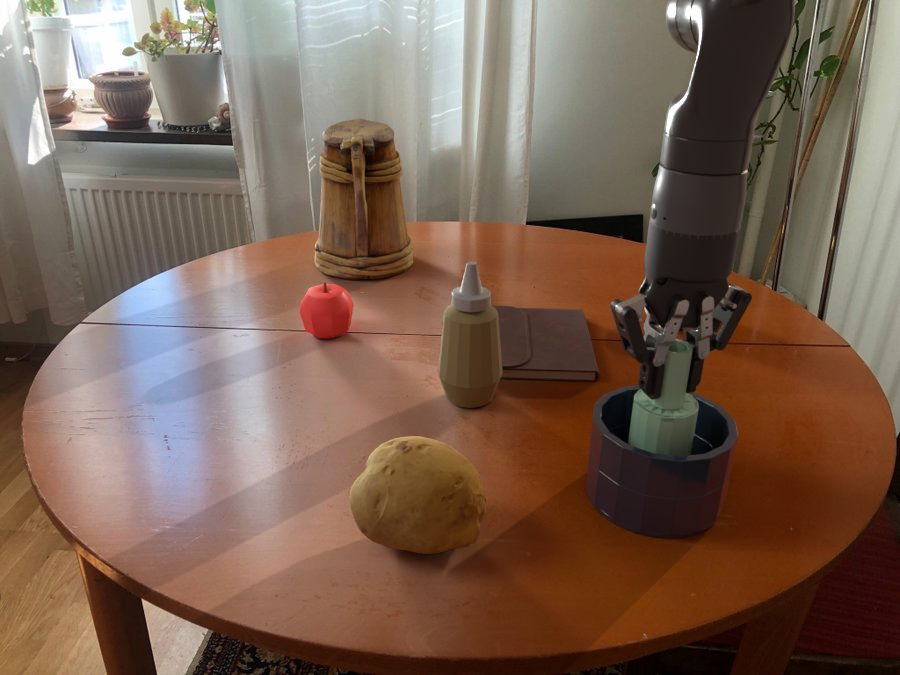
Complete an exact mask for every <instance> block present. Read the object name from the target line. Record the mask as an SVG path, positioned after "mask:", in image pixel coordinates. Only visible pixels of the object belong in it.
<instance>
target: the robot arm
mask: <svg viewBox="0 0 900 675" xmlns="http://www.w3.org/2000/svg"><path fill="white" fill-rule="evenodd" d="M795 13H796V0H667V3H666V8H665V23H666V28H667V30H668V33H669V35H670V37H671V38H672V40H673V41H674V42H675V43H676V45H678V46H679V47H681V49H684V50H685V51H687V52H690V53H693V54H696V57H695V61H694V65H693V69H692V71H691V72H692V73H691V76H690V79H689V84H688V87H687V89H686V90H683V91H681V92H679V93H677V94H676V95H675V96H674V97H673V98H672V99H671V101H670V103H669V104H668V108H667V112H666V116H665V120H664V128H663V133H662V142H661V150H660V157H659V165H658V170H657V174H656V177H655V182H654V185H653V189H652V190H653V191H652V198H651V206H650V212H649V221H648V229H647V235H646V245H645V252H644V259H643V260H644V268H645V276H644V279H643V281H642V283H641V285H640V286H639V289H638V294H635V295H634V296H632V297H630V298H628V299H626V300H622V299H620V298H615V299H614V300H612V301H611V303H610V310H611V313H612V316H613V319H614V322H615V323H614V324H615V326H616V329H617V332H618V335H619V339H620V342H621V346H622V349H623V350H624V351H625V352H626V353H627V354H628V355H629V356H630V357H631V358H633V359H634V360H635V361H636V362H637V363H639V364H640V367H639V376H638V383H637V385H639V388H640V389H642V391H643V392H644V393H645V394H646V395H647V396H648V397H649V398H650V399H652V400H653V399H659V398H660V396H661V390H662V383H663V376H664V370H665V365H663V363H664V362H665V359H666V356H667V353H668V350H669V347H670V345H671V344H674V343H675V341H676V339H678V338H677V337H678V334H679V332H680V330H682V339H683V340H682V341H686V342H688V343H689V344H690V345H692V349H693V351H692V357H691V363H690V369H689V375H688V381H687V387H686V393H695V392H696V391H697V387H698V386H699V385H700V383H701V381H702V376H703V375H702V374H703V368H704V364H705V359H706V358H707V359H708V357H709V355H710V353H711V352H713V351H715V350H717V351H723V350H725V348H726V347H727V346H728V344H729V342H730V340H731V338H732V336H733V334H734V333H735V331H736V329H737V328H738V326H739V323H740V322H741V320H742V318H743V316H744V314H745V312H746V311H747V309H748V307H749V305H750V303H751V301H752V299H753V295H752V294H751V293H750V292H748V291H746V290H745V289H744V288H742V287H741V286H738V285H736V284H734V283H730V282H729V280H728V278H729V277H730V276H731V274H732V273H733V271H734V266H735V261H736V254H737V249H738V244H739V239H740V233H741V227H742V221H743V216H744V212H745V211H744V210H745V206H746V199H747V189H748V188H747V185H748V184H747V182H748V172H749V171H748V170H749V165H750V160H751V154H752V150H753V142H754V136H755V130H756V122H757V119H758V116H759V113H760V112H761V109H762V108H763V107H762V106H764V102H765V101H766V99H767V96H768V95H769V92H770V91H771V87H772V85H773V83H774V80H775V79H776V75H777V73H778V70H779V68H780V66H781V64H782V61H783V59H784V56H785V53H786V51H787V48H788V45H789V43H790V40H791V36H792V33H793V32H792V31H793V27H794V24H795V23H794V22H795ZM644 308H646V309H647V311H648V314H646V317H645V320H644V318H643V311H644V310H645V309H644ZM643 321H644V323H643V329H642V326H641V323H642V322H643ZM721 324H722V325H721ZM720 326H721V327H720ZM719 328H720V329H719ZM642 330H643V331H642ZM718 330H719V331H718ZM717 331H718V332H717ZM643 332H644V334H643Z"/></svg>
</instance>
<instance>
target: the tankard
mask: <svg viewBox="0 0 900 675" xmlns="http://www.w3.org/2000/svg"><path fill="white" fill-rule="evenodd" d="M321 138H322V141H323V150H322V152H321V154H320V156H319V174H320V175H321V187H320V208H319V209H320V210H319V228H318V239H317V241H316V242H315V244H314V258H313V259H314V265H315V267H316V269H317V270H318V271H320V272H322V273H323V274H325V275H328V276H331V277H335V278H339V279H344V280H345V279H346V280H355V281H357V280H379V279H383V278H389V277H393V276H395V275H396V276H397V275H398V274H401V273H404V272H405V271H407V270H408V269H409V268H410V267H411V266H412V265H413V264H414V254H415V252H414V251H415V250H414V248H413V246H414V245H413V240H412V238H411V237H410V236H409V233H408V226H407V225H408V224H407V219H406V213H405V206H404V200H403V194H402V193H403V192H402V185H401V177H402V176H403V167H402V160H401V155H400V153H399V151H397V150H396V144H395V131H394V130H393V129H392V127H391V126H390V125H388V124H386V123H383V122H379V121H374V120H369V119H364V118H361V117H359V118H354V119H348V120H343V121H339V122H336V123H334V124H332V125H330V126H328V127H327V128H326V129H325V130H324V131H323V132H322V134H321Z"/></svg>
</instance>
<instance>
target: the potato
mask: <svg viewBox="0 0 900 675" xmlns="http://www.w3.org/2000/svg"><path fill="white" fill-rule="evenodd" d="M348 495H349V506H350V510H351V515H352V516H353V519H354V522H355V524H356V526H357V528H358V530H359V531H360V532H361V534H362V535H363V536H365V537H366V538H367V539H368V540H370V541H371V542H372V543H373V542H374V543H375V544H377V545H381V546H384V547H387V548H391V549H395V550H399V551H400V550H401V551H407V552H413V553H417V554H425V555H433V554H439V553H444V552H449V551H453V550H455V549H459V548H468V547H469V546H470V545H472V544H476V542H477V541H478V538H479V535H480V531H481V530H480V529H481V523H482V521H483V520H484V518H485V517H486V516H485V515H486V513H487V506H486V501H487V500H486V499H487V498H486V493H485V490H484V484H483V480H482V478H481V475H480V473H479V472H478V470H477V468H476V467H475V466H474V464H473V463H472V462H471V461H470V460H469V459H468V458H467V457H466V456H464V455H463V454H462V453H460V452H459V451H457V450H456V449H455V448H454V447H452V446H450V445H448V444H447V443H445V442H442V441H440V440H439V439H438V440H437V439H434V438H430V437H426V436H420V435H419V436H418V435H415V436H414V435H413V436H410V435H409V436H400V437H395V438H392V439H390V440H387V441H385V442H383V443H380V444H379V445H378V446H377V447H376V448H375V449H373V451H372V452H371V453H370V454H369V456H368V458H367V460H366V462H365V469H364V470H363V472H362V473H361V474H360V475H359V476H358V477H356V478H355V481H354V482H353V484H352V485H351V488H350V490H349V494H348Z"/></svg>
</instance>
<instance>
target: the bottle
mask: <svg viewBox="0 0 900 675" xmlns="http://www.w3.org/2000/svg"><path fill="white" fill-rule="evenodd" d="M692 351H693V349H692V345H690V344H689V343H688V342H686V341H683V340H682V339H680V338H676V341H675V343H674V344H671V345H670V347H669V350H668V353H667V356H666V359H665V362H664V363H663V365H665V370H664V376H663V383H662V390H661V396H660V398H659V399H653V400H652V399H650V398H649V397H648V396H647V395H646V394H645V393H644V392H643V391H642V389H640V390H638V392H637V393H636V394H635V395H634V401H633V409H632V417H631V424H630V432H629V439H628V445H631V446H634V447H637V448H640V449H642V450H645V451H648V452H651V453H656V454H665V455H673V456H689V455H691V449H692V444H693V438H694V432H695V427H696V421H697V415H698V410H699V406H698V402H697V400H696V399H695V398H694V397H693V396H692V395H690V394H688V393H686V387H687V381H688V375H689V369H690V363H691V357H692Z"/></svg>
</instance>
